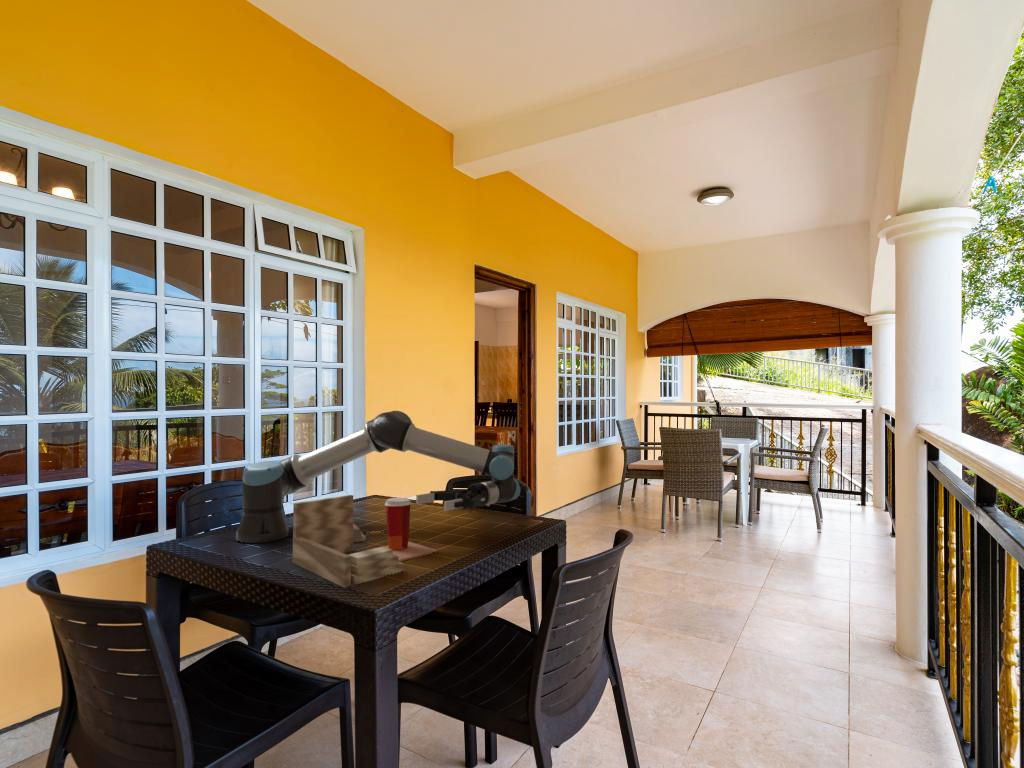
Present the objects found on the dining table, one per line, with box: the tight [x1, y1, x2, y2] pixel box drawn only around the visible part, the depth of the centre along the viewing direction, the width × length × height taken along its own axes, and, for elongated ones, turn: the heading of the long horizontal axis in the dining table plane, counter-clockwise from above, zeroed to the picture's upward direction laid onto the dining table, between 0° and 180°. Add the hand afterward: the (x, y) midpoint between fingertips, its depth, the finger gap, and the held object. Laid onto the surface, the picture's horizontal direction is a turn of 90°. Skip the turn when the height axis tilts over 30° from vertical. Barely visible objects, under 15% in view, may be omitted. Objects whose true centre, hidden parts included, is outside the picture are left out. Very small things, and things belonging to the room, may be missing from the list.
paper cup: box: [384, 497, 412, 550], centre depth 158 cm, size 8×8×14 cm
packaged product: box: [353, 521, 367, 543], centre depth 174 cm, size 18×5×10 cm
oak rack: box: [292, 494, 354, 589], centre depth 143 cm, size 17×28×16 cm, turn 46°
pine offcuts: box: [347, 546, 405, 586], centre depth 135 cm, size 14×5×6 cm, turn 136°
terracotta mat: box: [383, 540, 438, 563], centre depth 155 cm, size 14×14×1 cm
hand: (430, 502), depth 163 cm, fingers open, 13 cm apart
